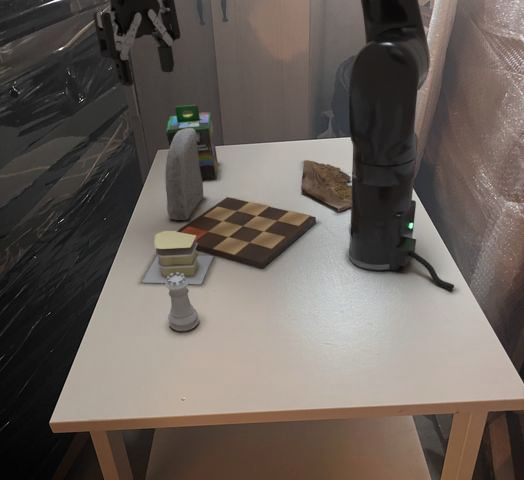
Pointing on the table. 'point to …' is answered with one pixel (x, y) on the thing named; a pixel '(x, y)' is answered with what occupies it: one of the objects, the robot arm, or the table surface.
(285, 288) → the table surface
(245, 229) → the game board
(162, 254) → the stacked layers on plate
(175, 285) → the rook chess piece
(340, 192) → the wooden fragment
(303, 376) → the table surface
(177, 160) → the decorative stone
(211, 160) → the chalk box
